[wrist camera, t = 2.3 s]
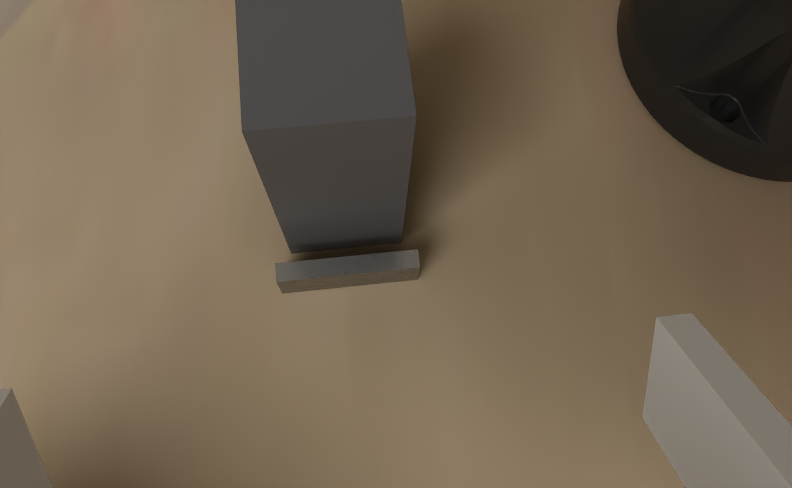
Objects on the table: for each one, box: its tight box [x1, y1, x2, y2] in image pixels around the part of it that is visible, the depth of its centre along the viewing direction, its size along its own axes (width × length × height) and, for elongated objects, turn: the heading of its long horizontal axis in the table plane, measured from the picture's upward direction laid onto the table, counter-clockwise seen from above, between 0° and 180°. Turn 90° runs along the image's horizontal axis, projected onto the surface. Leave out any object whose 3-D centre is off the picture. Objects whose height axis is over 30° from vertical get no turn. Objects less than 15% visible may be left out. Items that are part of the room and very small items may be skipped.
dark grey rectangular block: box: [235, 0, 417, 253], centre depth 26 cm, size 5×5×12 cm
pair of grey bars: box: [275, 249, 420, 293], centre depth 31 cm, size 6×9×2 cm
